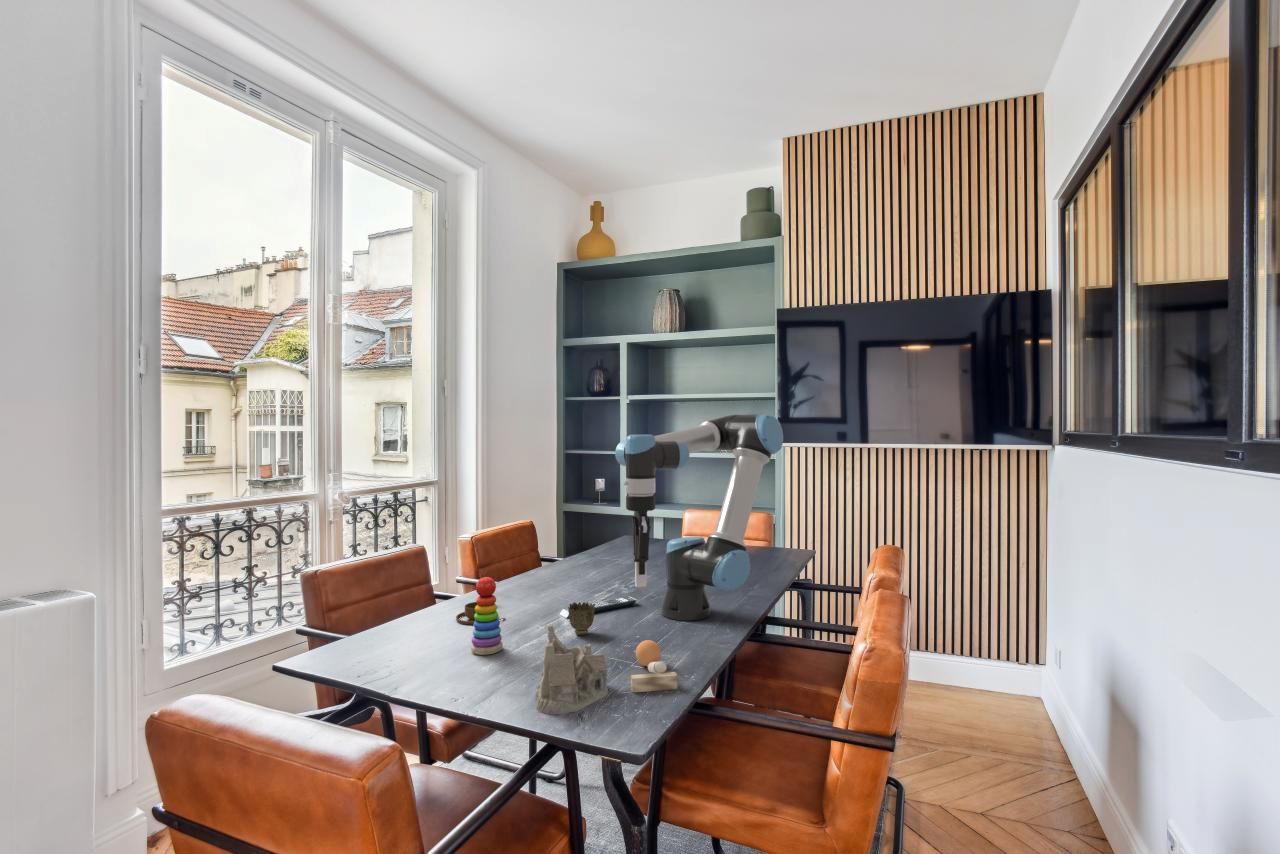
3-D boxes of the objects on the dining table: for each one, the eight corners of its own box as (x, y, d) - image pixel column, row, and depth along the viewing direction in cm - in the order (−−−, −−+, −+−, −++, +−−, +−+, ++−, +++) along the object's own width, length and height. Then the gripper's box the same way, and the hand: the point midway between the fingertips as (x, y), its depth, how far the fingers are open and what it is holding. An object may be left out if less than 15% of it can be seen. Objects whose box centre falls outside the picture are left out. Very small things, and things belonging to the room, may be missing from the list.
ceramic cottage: (529, 714, 126) (534, 638, 127) (538, 684, 142) (543, 617, 143) (607, 717, 127) (612, 642, 127) (608, 687, 143) (612, 620, 144)
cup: (590, 639, 170) (590, 609, 170) (564, 637, 172) (564, 608, 172) (598, 630, 177) (598, 602, 177) (572, 629, 179) (572, 600, 179)
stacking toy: (508, 647, 165) (508, 575, 165) (491, 657, 157) (491, 582, 157) (482, 643, 167) (482, 573, 167) (464, 654, 160) (464, 580, 160)
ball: (664, 665, 148) (658, 666, 154) (662, 638, 151) (656, 640, 156) (639, 667, 147) (634, 667, 153) (637, 640, 149) (632, 641, 155)
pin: (657, 661, 148) (666, 660, 141) (658, 673, 148) (667, 672, 140) (647, 661, 148) (655, 661, 140) (647, 673, 147) (656, 673, 139)
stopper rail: (675, 685, 140) (675, 671, 140) (677, 688, 138) (677, 675, 138) (630, 688, 138) (630, 675, 138) (632, 692, 137) (632, 678, 137)
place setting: (439, 622, 188) (439, 602, 188) (485, 605, 205) (485, 587, 205) (485, 631, 179) (485, 610, 179) (528, 612, 197) (528, 593, 197)
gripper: (622, 492, 168) (622, 580, 168) (630, 497, 155) (630, 593, 155) (650, 491, 169) (650, 579, 169) (660, 497, 156) (660, 592, 156)
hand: (640, 586), depth 162 cm, fingers closed
